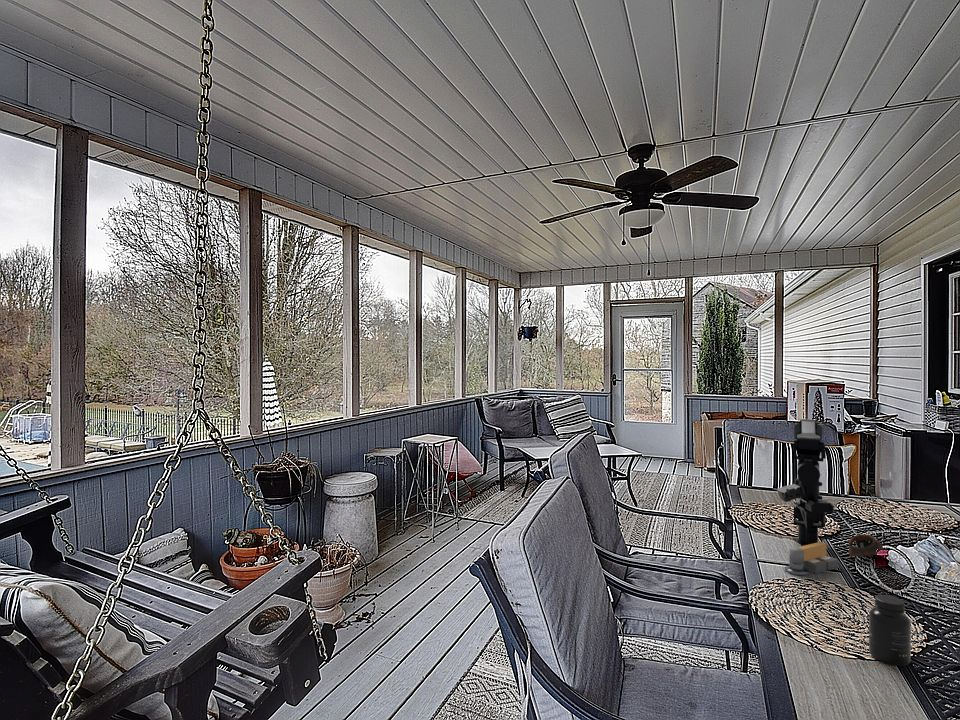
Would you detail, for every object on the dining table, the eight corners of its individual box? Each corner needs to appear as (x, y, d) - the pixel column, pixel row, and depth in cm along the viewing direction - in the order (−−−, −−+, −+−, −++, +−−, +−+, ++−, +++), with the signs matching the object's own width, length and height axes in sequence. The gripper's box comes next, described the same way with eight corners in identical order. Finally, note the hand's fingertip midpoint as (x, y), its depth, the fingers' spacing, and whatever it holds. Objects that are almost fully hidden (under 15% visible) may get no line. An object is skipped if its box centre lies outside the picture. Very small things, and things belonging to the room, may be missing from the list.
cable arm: (798, 564, 154) (798, 552, 154) (786, 560, 157) (786, 548, 157) (829, 556, 161) (829, 544, 161) (817, 552, 164) (817, 540, 164)
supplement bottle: (860, 649, 114) (860, 592, 114) (890, 648, 115) (890, 591, 115) (887, 668, 107) (887, 607, 107) (919, 666, 108) (919, 606, 108)
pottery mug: (897, 566, 161) (886, 543, 160) (864, 577, 163) (853, 554, 162) (874, 544, 172) (864, 522, 171) (844, 555, 175) (834, 533, 174)
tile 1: (792, 565, 161) (792, 556, 161) (802, 562, 163) (802, 554, 163) (816, 573, 155) (816, 564, 155) (826, 570, 157) (826, 561, 157)
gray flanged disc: (781, 567, 160) (781, 558, 160) (802, 568, 159) (802, 559, 159) (790, 575, 154) (790, 565, 154) (812, 576, 153) (812, 566, 153)
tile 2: (803, 562, 164) (804, 553, 164) (813, 559, 166) (813, 551, 166) (827, 570, 157) (827, 561, 157) (837, 567, 160) (837, 558, 160)
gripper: (768, 470, 177) (768, 518, 177) (794, 483, 158) (793, 537, 158) (804, 471, 175) (804, 519, 175) (835, 484, 157) (835, 538, 157)
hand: (808, 528), depth 166 cm, fingers closed
